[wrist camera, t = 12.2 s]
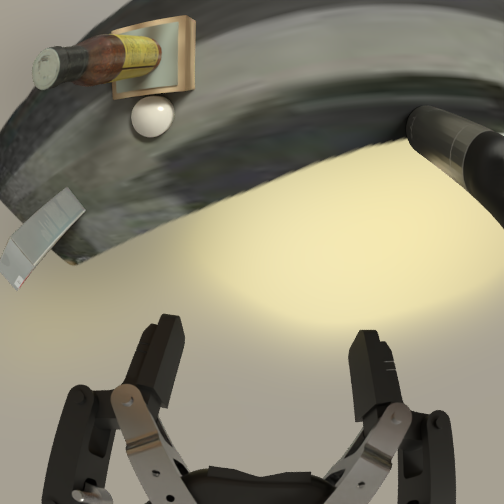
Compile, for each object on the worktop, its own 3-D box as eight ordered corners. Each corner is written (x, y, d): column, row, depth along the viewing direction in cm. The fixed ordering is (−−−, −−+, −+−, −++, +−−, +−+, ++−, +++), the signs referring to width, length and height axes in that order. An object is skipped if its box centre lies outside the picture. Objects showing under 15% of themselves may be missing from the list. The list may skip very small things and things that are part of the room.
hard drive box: (60, 239, 57) (16, 292, 41) (43, 217, 53) (-5, 267, 38) (87, 210, 51) (33, 268, 35) (67, 184, 48) (7, 236, 32)
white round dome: (174, 93, 37) (169, 94, 35) (176, 132, 41) (171, 136, 39) (136, 97, 37) (129, 99, 35) (139, 135, 41) (133, 138, 39)
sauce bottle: (142, 31, 26) (44, 20, 10) (172, 50, 28) (83, 42, 12) (117, 66, 29) (17, 83, 13) (146, 85, 31) (50, 110, 15)
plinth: (195, 21, 29) (184, 14, 25) (194, 88, 36) (183, 91, 32) (127, 33, 29) (110, 31, 25) (128, 96, 37) (111, 100, 32)
